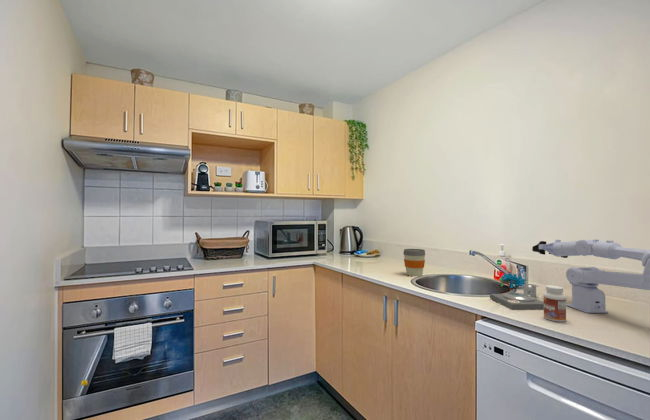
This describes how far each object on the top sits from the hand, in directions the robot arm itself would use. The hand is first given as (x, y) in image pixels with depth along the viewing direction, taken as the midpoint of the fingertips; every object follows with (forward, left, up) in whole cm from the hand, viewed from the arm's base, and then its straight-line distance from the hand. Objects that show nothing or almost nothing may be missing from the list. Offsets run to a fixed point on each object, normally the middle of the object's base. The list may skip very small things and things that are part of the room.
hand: (541, 250), depth 134 cm
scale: (-13, +20, -20) cm, 31 cm away
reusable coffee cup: (+45, +43, -20) cm, 66 cm away
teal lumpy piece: (+14, +5, -20) cm, 25 cm away
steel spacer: (-3, +8, -20) cm, 22 cm away
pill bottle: (-31, +19, -20) cm, 41 cm away
